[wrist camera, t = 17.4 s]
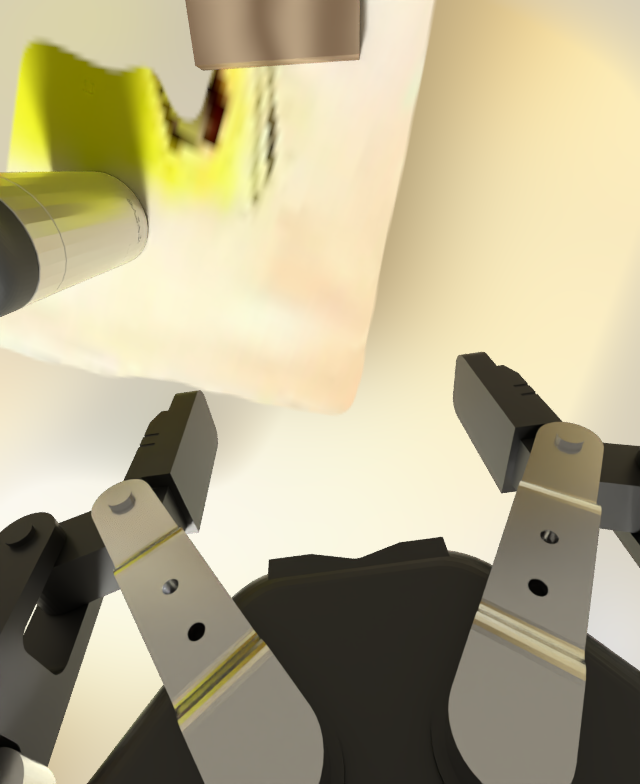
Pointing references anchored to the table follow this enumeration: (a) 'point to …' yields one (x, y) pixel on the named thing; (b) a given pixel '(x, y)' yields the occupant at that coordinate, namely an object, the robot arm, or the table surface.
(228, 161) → the table surface
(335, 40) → the subfloor panel
